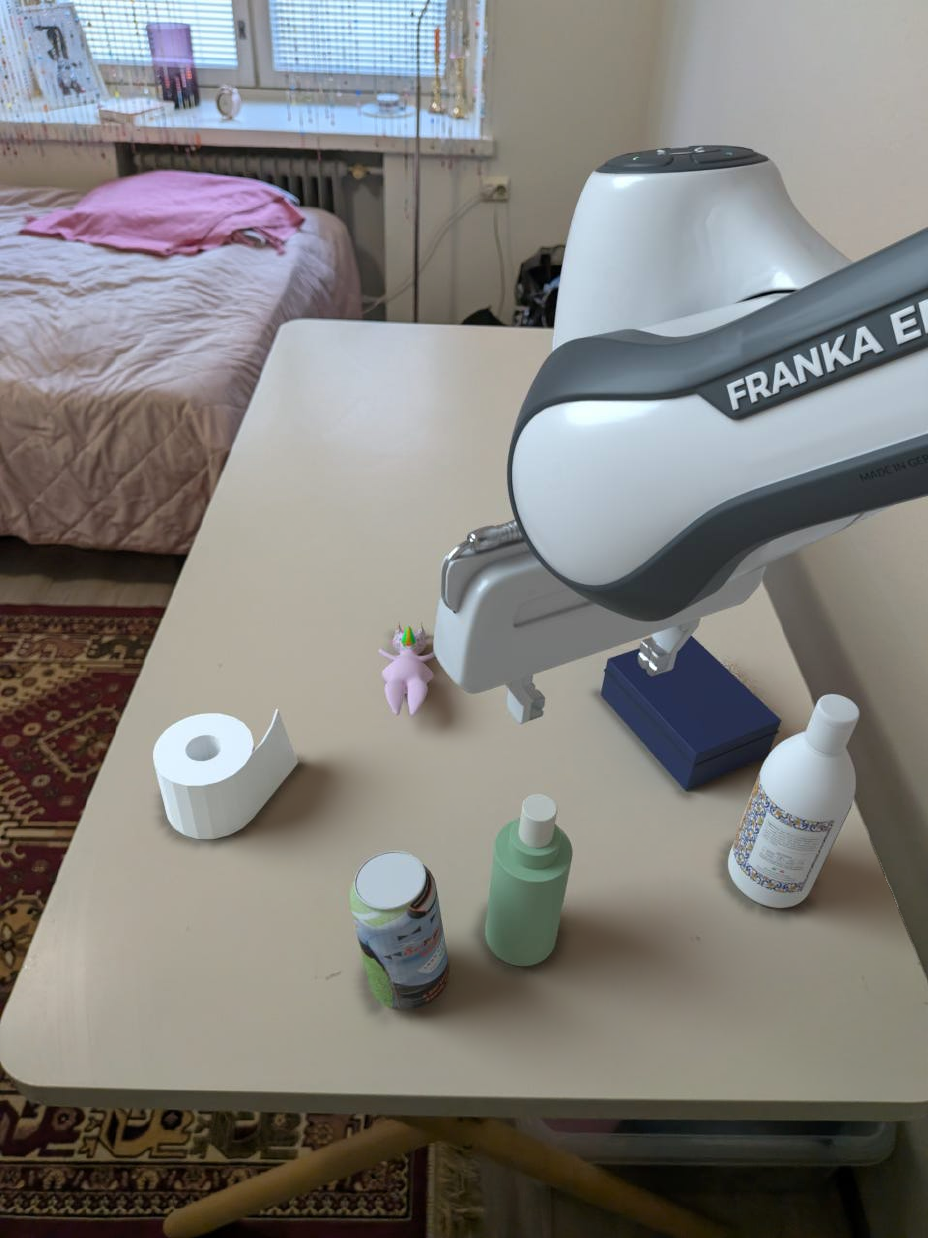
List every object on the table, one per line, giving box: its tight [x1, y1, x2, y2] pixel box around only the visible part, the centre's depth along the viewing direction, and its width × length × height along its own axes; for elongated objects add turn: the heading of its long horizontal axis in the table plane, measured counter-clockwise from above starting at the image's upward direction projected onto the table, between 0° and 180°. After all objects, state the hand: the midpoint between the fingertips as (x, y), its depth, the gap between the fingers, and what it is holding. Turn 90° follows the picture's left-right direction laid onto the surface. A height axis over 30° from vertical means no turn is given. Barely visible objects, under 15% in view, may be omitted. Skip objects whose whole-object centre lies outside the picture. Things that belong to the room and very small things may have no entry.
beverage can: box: [348, 850, 450, 1011], centre depth 66 cm, size 6×7×12 cm
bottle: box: [484, 793, 574, 967], centre depth 68 cm, size 6×6×16 cm
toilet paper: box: [152, 708, 299, 840], centre depth 81 cm, size 8×11×7 cm
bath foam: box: [727, 693, 860, 909], centre depth 72 cm, size 7×7×20 cm
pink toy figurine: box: [378, 621, 436, 717], centre depth 93 cm, size 6×6×15 cm
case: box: [600, 634, 782, 792], centre depth 90 cm, size 14×10×5 cm
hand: (591, 690), depth 56 cm, fingers open, 8 cm apart
